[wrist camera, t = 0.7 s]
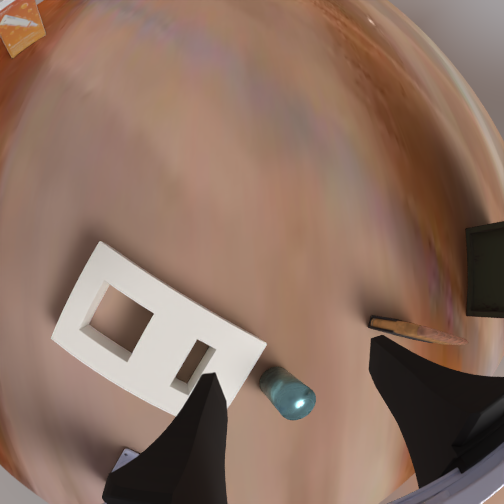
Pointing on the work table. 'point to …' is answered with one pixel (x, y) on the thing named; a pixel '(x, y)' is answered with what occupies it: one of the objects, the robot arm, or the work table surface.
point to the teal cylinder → (287, 393)
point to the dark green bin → (485, 270)
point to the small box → (20, 24)
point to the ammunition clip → (413, 331)
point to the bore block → (153, 335)
